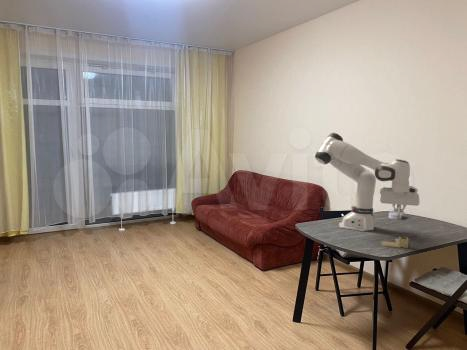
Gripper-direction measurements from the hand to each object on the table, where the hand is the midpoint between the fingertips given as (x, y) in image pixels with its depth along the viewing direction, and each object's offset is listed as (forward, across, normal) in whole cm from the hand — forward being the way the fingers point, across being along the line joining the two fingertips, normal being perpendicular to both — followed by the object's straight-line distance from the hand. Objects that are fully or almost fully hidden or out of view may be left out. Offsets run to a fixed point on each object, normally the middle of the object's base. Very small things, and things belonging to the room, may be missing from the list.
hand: (398, 211), depth 199 cm
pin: (+4, 0, 0) cm, 4 cm away
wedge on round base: (+20, +5, +70) cm, 73 cm away
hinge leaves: (+19, -1, +2) cm, 19 cm away
